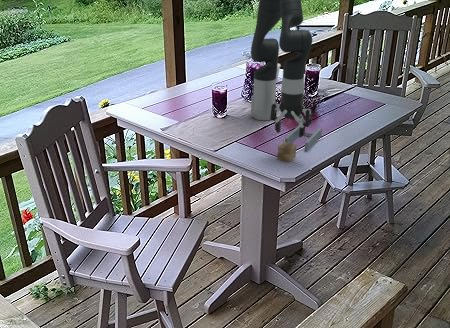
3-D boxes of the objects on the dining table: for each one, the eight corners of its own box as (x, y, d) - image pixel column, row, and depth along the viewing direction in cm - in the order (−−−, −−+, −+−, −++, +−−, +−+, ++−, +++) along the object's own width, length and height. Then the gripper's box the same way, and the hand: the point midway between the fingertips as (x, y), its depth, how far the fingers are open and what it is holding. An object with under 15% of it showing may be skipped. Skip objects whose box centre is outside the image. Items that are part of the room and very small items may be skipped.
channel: (284, 146, 193) (284, 138, 192) (299, 132, 206) (300, 123, 204) (307, 151, 190) (307, 143, 188) (321, 136, 202) (322, 128, 201)
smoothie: (278, 85, 259) (280, 57, 252) (266, 84, 260) (267, 57, 254) (280, 81, 264) (281, 54, 258) (267, 80, 266) (269, 53, 259)
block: (277, 159, 184) (278, 146, 182) (282, 154, 188) (283, 141, 186) (290, 162, 182) (291, 149, 180) (295, 157, 186) (296, 144, 184)
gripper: (268, 89, 174) (266, 134, 181) (308, 96, 168) (305, 142, 175) (277, 84, 180) (275, 127, 187) (316, 90, 174) (312, 134, 181)
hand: (289, 134), depth 181 cm, fingers open, 8 cm apart
